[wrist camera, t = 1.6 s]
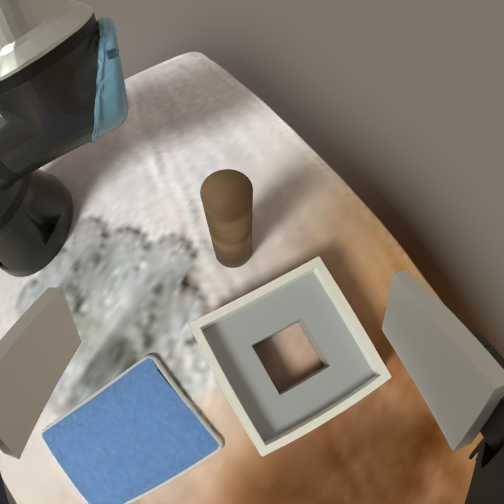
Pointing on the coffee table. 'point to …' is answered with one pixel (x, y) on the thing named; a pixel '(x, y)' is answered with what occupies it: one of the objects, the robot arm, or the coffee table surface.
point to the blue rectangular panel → (131, 436)
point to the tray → (321, 338)
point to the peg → (229, 215)
